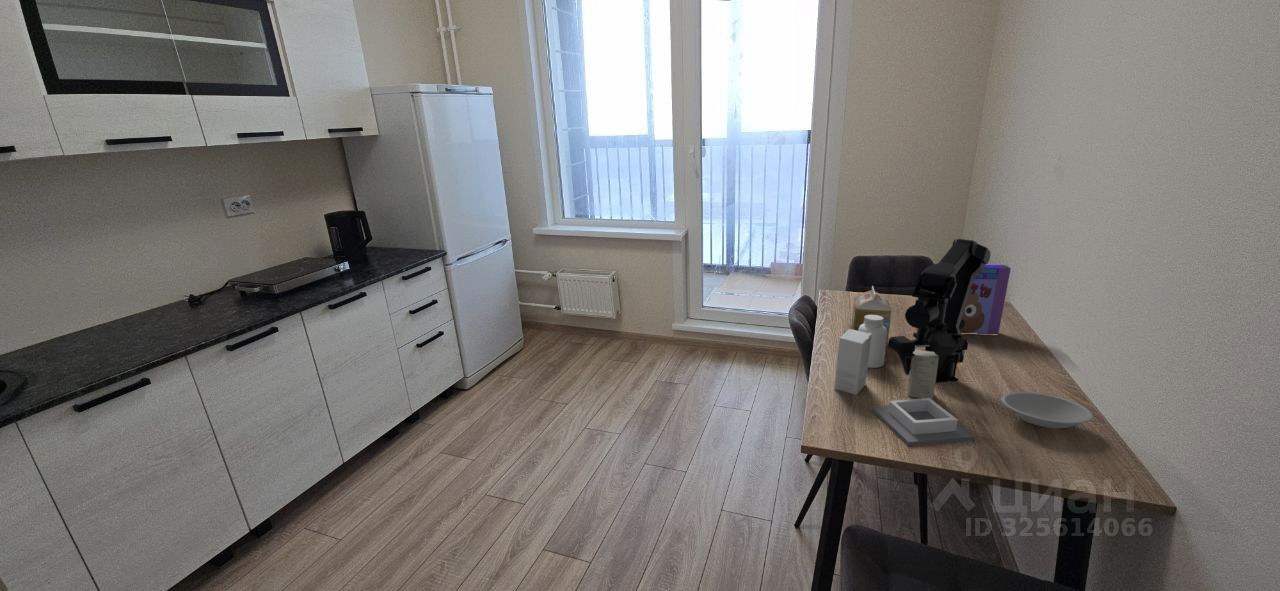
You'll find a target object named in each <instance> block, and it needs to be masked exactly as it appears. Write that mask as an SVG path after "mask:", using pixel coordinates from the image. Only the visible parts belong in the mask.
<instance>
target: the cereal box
mask: <svg viewBox="0 0 1280 591" xmlns="http://www.w3.org/2000/svg"><path fill="white" fill-rule="evenodd" d="M1010 274H1011V267H1010V266H1008V265H1005V264H986V265H985V268H984V271H983V272H982V273H980V274H979V275H978V276H977V277H975V278H974V280H973V284H972V287H971V290H970V293H969V296H968V300H967V303H966V306H965V309H964V312H963V316H962V319H961V322H960V325H959V330H960V333H977V334H998V335H999V332H1000V327H1001V323H1002V318H1003V311H1004V306H1005V301H1006V295H1007V290H1008V289H1007V288H1008V285H1009V279H1010Z"/></svg>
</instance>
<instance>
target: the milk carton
mask: <svg viewBox="0 0 1280 591" xmlns="http://www.w3.org/2000/svg"><path fill="white" fill-rule="evenodd" d="M852 304H853V307H852V315H851V316H852V317H851V325H850V329H852V330H857V331H858V329H859V327H860V325H862V324H864V317H865V316H866V315H878V316H881V317H883V318H884V321H883V326H884V327H886V329H887V339H886V348H885V353H888V352H887V351H888V341H889V334H890V328H891V327H890V326H891V320H892V319H891V317H892V309H891V306H890V302H889V300H888V299H887V298H886V297H885V296H884V295H882V294H881V293H879V292H878V291H875V288H874V285H872V286H871V290H868V291H865V292H862V293H861V294H859V295H857V296H855V298H853V303H852Z"/></svg>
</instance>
